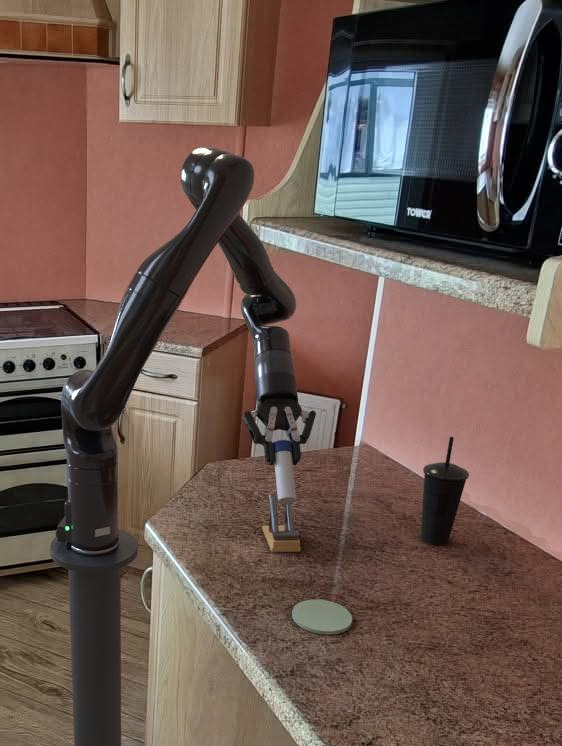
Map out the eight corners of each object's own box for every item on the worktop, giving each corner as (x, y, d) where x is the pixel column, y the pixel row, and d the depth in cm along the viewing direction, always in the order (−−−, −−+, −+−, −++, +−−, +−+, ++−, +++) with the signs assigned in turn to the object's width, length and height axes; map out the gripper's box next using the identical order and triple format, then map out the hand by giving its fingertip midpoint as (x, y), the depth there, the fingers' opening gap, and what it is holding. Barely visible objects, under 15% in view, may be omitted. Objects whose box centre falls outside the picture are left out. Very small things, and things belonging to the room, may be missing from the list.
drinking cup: (465, 543, 145) (484, 440, 137) (434, 552, 142) (452, 447, 134) (434, 527, 151) (450, 427, 143) (404, 535, 148) (419, 433, 140)
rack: (262, 529, 150) (264, 492, 147) (289, 529, 150) (292, 491, 147) (271, 552, 141) (274, 513, 138) (300, 551, 142) (304, 512, 139)
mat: (290, 630, 118) (291, 626, 118) (293, 599, 127) (293, 596, 126) (352, 638, 117) (353, 634, 116) (351, 606, 125) (351, 603, 124)
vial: (267, 486, 148) (270, 435, 145) (286, 486, 149) (290, 435, 145) (277, 508, 139) (282, 455, 135) (298, 508, 139) (303, 455, 135)
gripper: (241, 369, 145) (248, 455, 139) (317, 369, 146) (328, 455, 139) (235, 389, 152) (241, 472, 146) (307, 389, 153) (317, 471, 146)
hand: (283, 463), depth 142 cm, fingers closed on vial, 3 cm apart
